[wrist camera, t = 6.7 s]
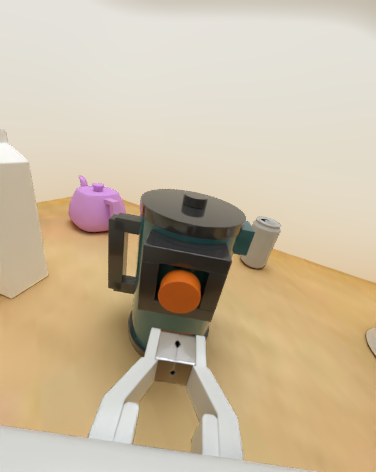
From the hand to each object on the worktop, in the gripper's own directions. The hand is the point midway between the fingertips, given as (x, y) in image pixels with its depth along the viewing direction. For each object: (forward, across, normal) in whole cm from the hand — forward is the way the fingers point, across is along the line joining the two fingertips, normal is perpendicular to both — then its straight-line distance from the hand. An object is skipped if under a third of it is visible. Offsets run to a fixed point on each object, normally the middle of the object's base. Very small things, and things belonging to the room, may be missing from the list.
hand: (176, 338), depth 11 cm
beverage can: (+36, +19, -16) cm, 43 cm away
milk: (+16, -25, -16) cm, 34 cm away
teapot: (+42, -24, -16) cm, 51 cm away
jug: (+12, -1, -15) cm, 20 cm away
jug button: (+5, 0, -3) cm, 6 cm away
